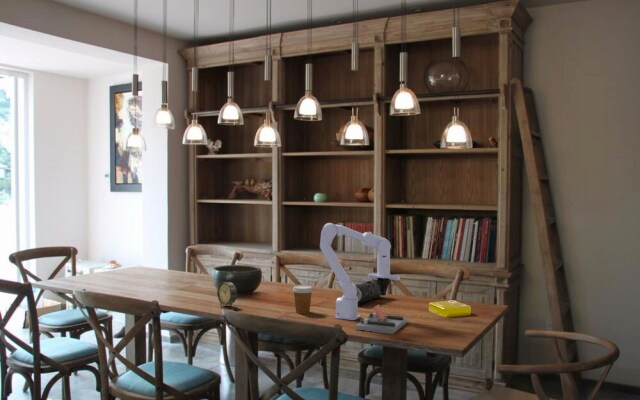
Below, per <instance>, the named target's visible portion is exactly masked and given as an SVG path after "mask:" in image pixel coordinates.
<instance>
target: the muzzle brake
mask: <svg viewBox="0 0 640 400" xmlns="http://www.w3.org/2000/svg"><path fill="white" fill-rule="evenodd" d="M354 284H355V283H354ZM355 286H356V289H357V295H356V296H357V297H358V305H362V304H365V302H366V301H371V300H374V299H377V298H380V297H381V296H382V295H381V290H380V287H379V285H378V283H377V279H374V278H373V279H371V280H369V281H365V282H360V283H356V284H355Z"/></svg>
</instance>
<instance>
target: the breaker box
mask: <svg viewBox="0 0 640 400" xmlns="http://www.w3.org/2000/svg"><path fill="white" fill-rule="evenodd" d="M384 316H385V319H384V320H382V318H378V317H377V315H376V313H375V311H374V312H373V313H369V316H368V317H365V318H363V319H360V320H359V322H358V323H357V324H355V329H357V330H356V331H360V330H365V331H364V332H369V331H372V333H379V334H386V335H388V334H389V335H393V334H394V333H396V332H398V330H400V329H401V328H402V327H403V326H405V325H406V324H407V323H408V317H406V316H405V317H404V316H399V315H391V314H390V315H389V314H384Z"/></svg>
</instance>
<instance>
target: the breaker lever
mask: <svg viewBox="0 0 640 400" xmlns="http://www.w3.org/2000/svg"><path fill="white" fill-rule="evenodd" d="M372 309H373V310H374V312H375V313H376V315H377V317H378V318H382V320H384V319H385V316H384V315H385V314H384V312H383V310H382V307H381V306H380V304H377V305H375V306H374V307H372Z"/></svg>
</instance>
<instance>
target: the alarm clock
mask: <svg viewBox="0 0 640 400" xmlns="http://www.w3.org/2000/svg"><path fill="white" fill-rule="evenodd" d="M227 275H228V276H229V278H227ZM224 278H225V280H226V282H221V283H220V284H219V285H218V286H217V292H216V295H217V300H218V302H219V303H220V304H219V306H222V305H223V306H228V305H229V306H230V308H231V309H232V308H233V304H234V303H235V302H236V301H237V297H238V290H237V287H236V285H235V284H234V283H233V282H231V281H229V280H230V279H231V276H230V274H229V273H226V274H225V275H224Z"/></svg>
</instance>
